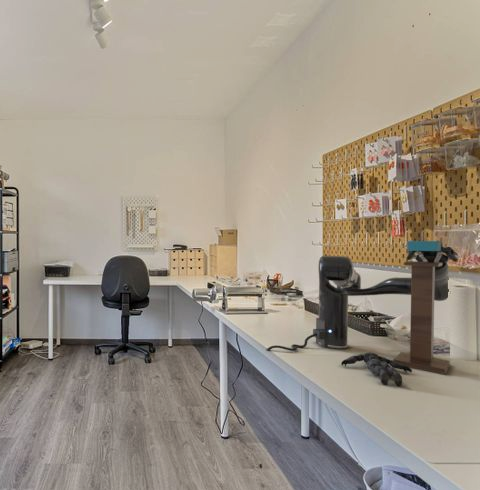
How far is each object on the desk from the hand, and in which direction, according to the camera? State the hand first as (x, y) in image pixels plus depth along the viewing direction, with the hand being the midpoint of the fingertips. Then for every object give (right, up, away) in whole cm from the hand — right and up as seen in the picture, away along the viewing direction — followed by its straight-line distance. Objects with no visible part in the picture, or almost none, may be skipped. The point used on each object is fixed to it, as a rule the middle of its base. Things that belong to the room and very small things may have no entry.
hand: (428, 243), depth 119 cm
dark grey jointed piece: (-26, -38, -13) cm, 48 cm away
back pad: (-3, -2, -2) cm, 4 cm away
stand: (-7, -38, -6) cm, 39 cm away
